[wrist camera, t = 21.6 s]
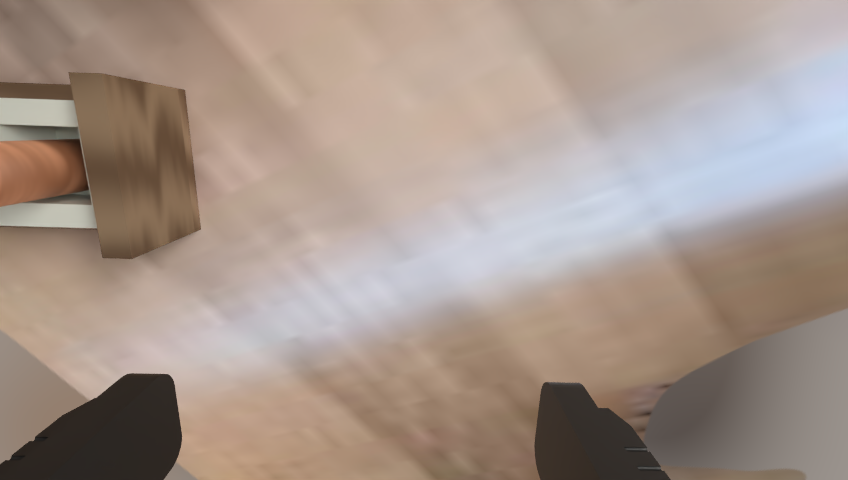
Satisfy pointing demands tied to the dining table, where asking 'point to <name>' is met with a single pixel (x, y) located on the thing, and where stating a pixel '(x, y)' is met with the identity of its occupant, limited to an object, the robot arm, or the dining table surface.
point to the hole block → (44, 123)
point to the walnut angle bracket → (130, 158)
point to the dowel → (40, 170)
